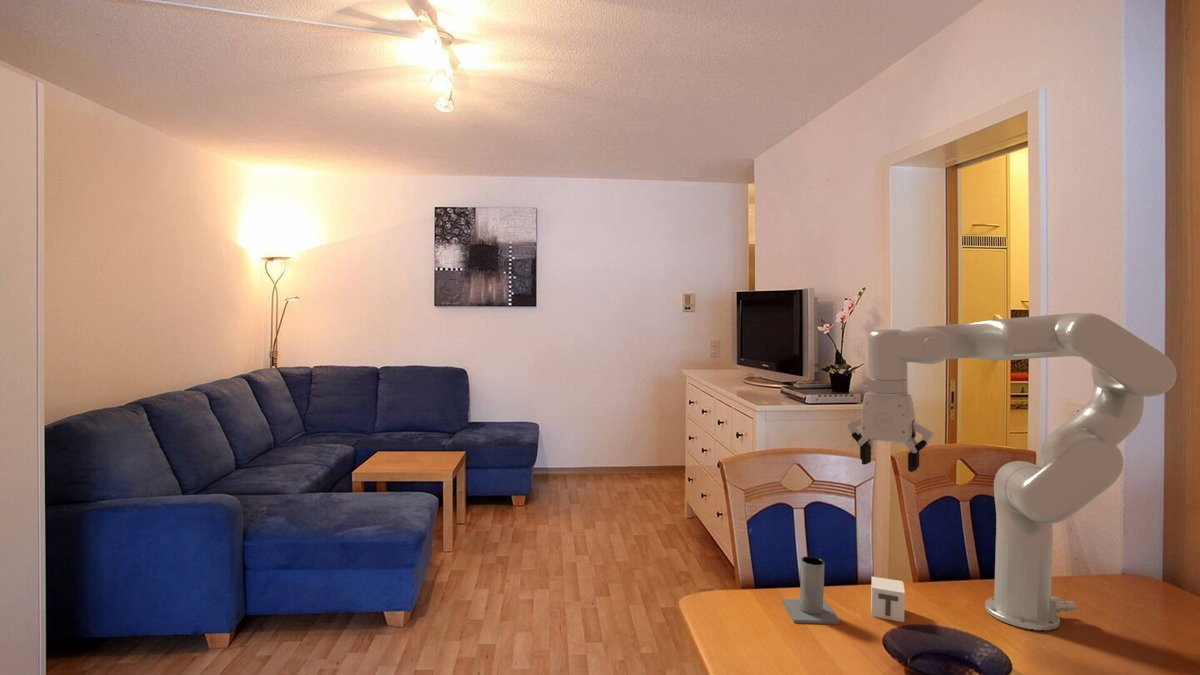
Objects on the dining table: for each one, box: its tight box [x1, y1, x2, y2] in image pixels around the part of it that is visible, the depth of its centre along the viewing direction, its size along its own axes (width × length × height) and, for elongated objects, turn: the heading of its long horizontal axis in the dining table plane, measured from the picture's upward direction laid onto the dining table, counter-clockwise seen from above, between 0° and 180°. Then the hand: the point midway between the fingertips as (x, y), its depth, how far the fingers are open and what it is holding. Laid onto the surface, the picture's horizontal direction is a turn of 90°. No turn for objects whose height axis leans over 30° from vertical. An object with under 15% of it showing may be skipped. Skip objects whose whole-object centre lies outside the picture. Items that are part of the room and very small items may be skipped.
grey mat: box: [782, 598, 841, 625], centre depth 127 cm, size 9×9×1 cm
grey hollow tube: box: [799, 555, 825, 614], centre depth 127 cm, size 4×4×10 cm
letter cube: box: [870, 576, 906, 623], centre depth 127 cm, size 6×6×6 cm
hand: (889, 466), depth 132 cm, fingers open, 9 cm apart
